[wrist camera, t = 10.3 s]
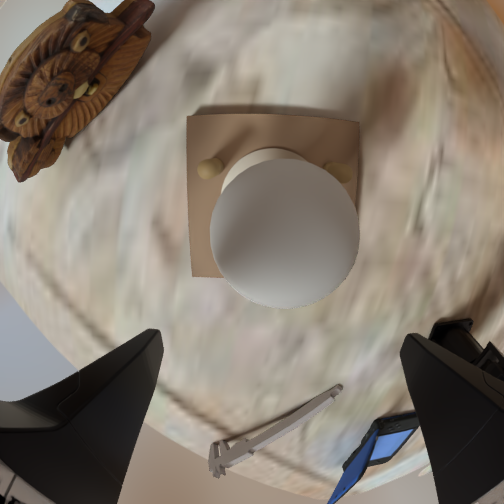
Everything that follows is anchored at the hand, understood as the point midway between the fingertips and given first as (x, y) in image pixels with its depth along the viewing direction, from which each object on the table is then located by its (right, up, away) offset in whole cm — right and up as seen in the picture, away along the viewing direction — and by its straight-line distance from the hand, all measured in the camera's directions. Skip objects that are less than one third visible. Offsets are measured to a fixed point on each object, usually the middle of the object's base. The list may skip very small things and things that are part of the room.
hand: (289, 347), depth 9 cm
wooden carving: (-14, +16, +8) cm, 23 cm away
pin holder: (0, +7, +11) cm, 13 cm away
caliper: (+1, -18, +21) cm, 27 cm away
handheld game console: (+17, -26, +24) cm, 39 cm away
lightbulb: (0, +7, +10) cm, 12 cm away
